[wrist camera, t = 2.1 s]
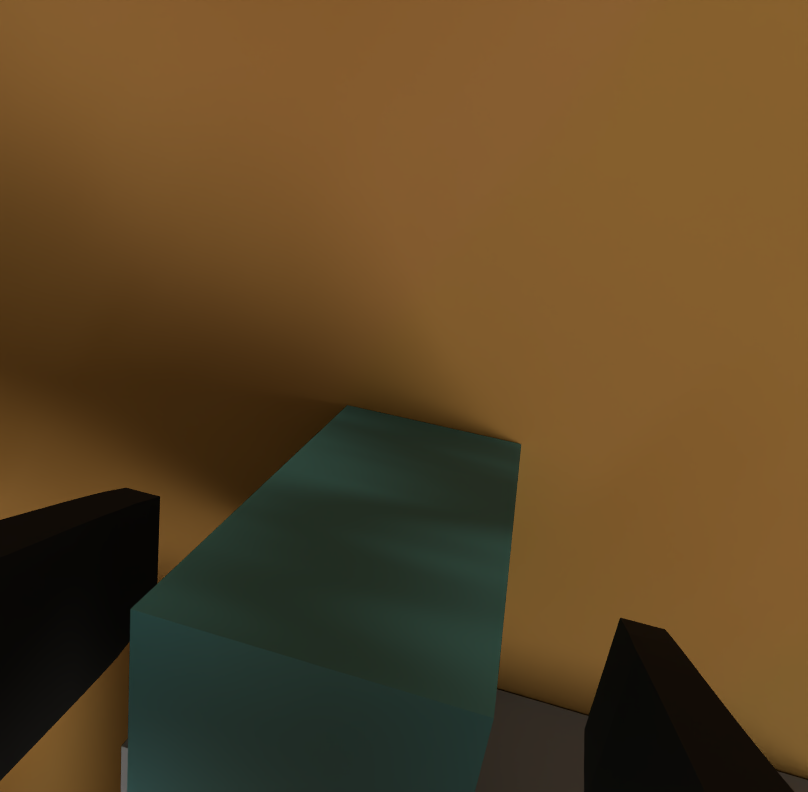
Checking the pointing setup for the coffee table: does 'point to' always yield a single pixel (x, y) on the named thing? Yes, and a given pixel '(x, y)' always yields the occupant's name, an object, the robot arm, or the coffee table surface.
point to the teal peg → (334, 622)
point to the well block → (528, 750)
